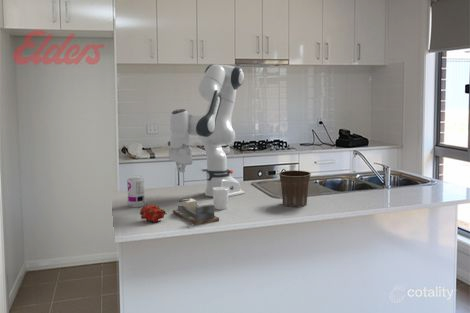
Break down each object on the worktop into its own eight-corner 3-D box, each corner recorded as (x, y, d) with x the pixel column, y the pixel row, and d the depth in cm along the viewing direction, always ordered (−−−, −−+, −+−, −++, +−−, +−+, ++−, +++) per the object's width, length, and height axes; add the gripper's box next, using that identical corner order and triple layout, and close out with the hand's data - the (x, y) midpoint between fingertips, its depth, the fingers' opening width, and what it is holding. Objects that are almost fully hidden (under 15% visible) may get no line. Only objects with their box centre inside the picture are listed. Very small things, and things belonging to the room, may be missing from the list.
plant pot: (299, 210, 228) (299, 177, 226) (272, 205, 239) (272, 173, 236) (316, 203, 240) (317, 172, 238) (290, 199, 251) (290, 169, 249)
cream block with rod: (191, 208, 227) (191, 197, 226) (197, 211, 222) (196, 199, 221) (177, 210, 223) (176, 199, 222) (182, 213, 218) (181, 202, 217)
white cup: (220, 205, 240) (219, 186, 238) (232, 207, 235) (231, 188, 233) (209, 208, 234) (209, 188, 232) (221, 210, 229) (221, 190, 227)
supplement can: (128, 208, 236) (127, 178, 234) (128, 204, 244) (126, 176, 242) (145, 207, 238) (144, 177, 236) (144, 203, 246) (142, 175, 244)
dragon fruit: (138, 224, 213) (164, 227, 213) (136, 217, 205) (164, 221, 206) (141, 207, 217) (167, 210, 217) (140, 200, 209) (167, 203, 210)
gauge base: (195, 209, 231) (195, 194, 230) (219, 221, 211) (218, 204, 210) (173, 213, 225) (172, 197, 224) (194, 225, 205) (194, 208, 204)
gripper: (195, 145, 219) (196, 174, 221) (177, 141, 237) (178, 168, 239) (182, 146, 216) (183, 175, 218) (166, 142, 233) (167, 169, 235)
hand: (181, 171), depth 228 cm, fingers open, 2 cm apart
